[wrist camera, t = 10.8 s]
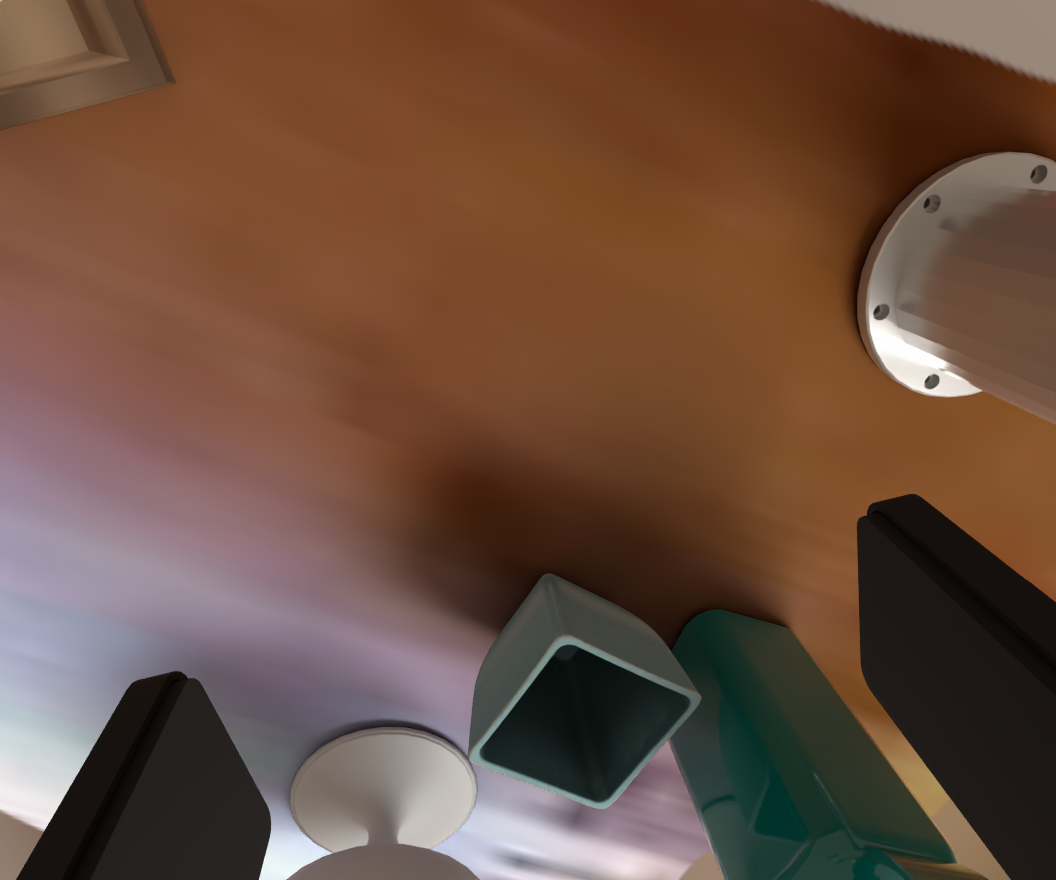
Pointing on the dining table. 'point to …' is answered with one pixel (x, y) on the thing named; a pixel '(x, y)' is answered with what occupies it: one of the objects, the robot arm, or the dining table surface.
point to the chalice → (383, 806)
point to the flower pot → (576, 695)
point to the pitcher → (792, 767)
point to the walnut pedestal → (74, 56)
